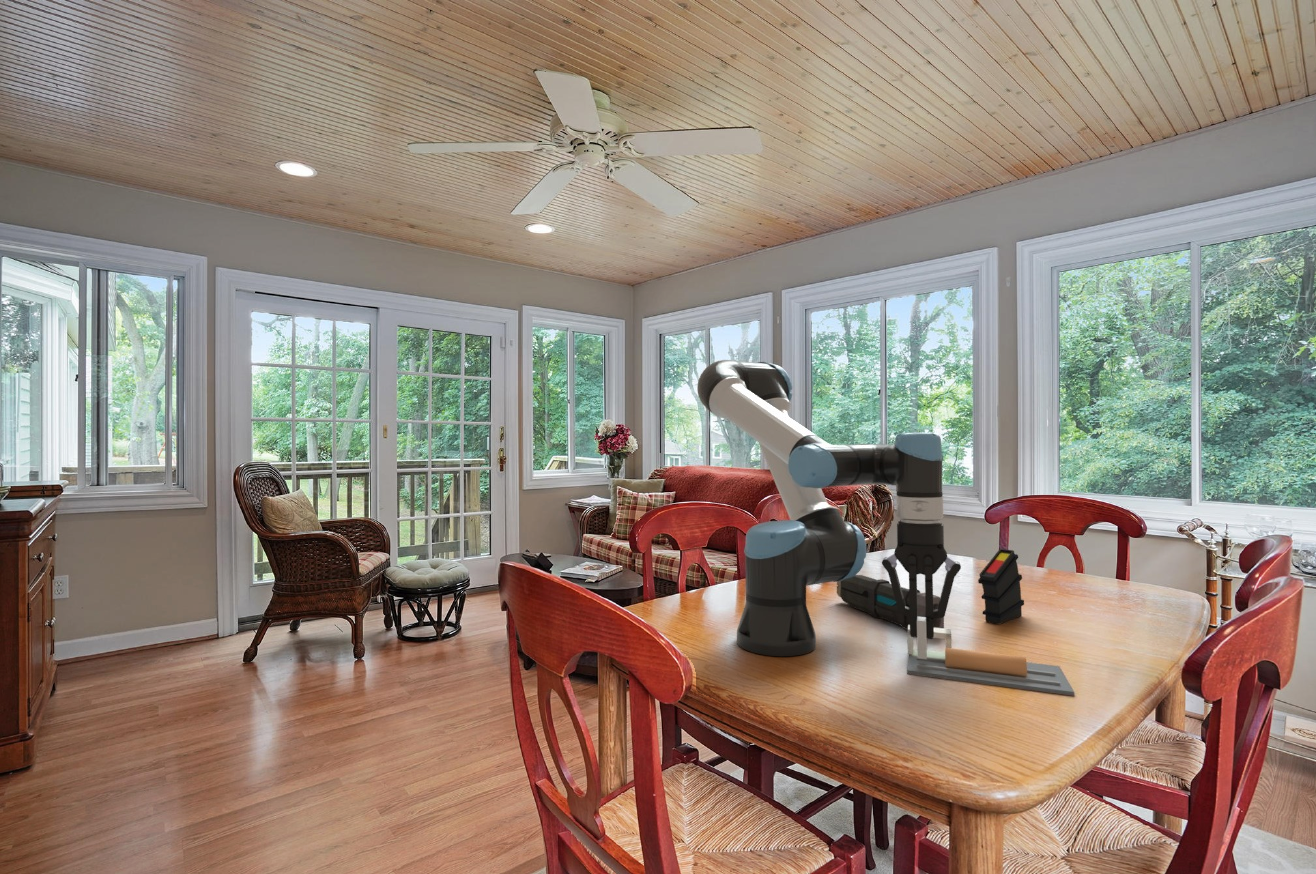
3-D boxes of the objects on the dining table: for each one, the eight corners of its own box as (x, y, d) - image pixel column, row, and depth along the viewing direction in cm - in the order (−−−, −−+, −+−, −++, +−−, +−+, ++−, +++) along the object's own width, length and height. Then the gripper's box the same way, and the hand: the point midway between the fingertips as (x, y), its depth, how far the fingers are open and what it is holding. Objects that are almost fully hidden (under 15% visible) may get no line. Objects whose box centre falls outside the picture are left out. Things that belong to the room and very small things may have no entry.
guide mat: (907, 673, 107) (907, 667, 107) (909, 651, 118) (909, 646, 118) (1074, 695, 97) (1074, 689, 97) (1059, 669, 108) (1059, 663, 108)
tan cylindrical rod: (945, 670, 107) (945, 652, 107) (945, 662, 110) (945, 644, 110) (1026, 681, 102) (1027, 662, 102) (1024, 671, 105) (1024, 653, 105)
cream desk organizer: (908, 649, 117) (908, 624, 117) (951, 654, 114) (950, 629, 114) (907, 654, 114) (907, 629, 114) (951, 659, 111) (951, 634, 111)
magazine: (1030, 606, 142) (1016, 549, 139) (1005, 642, 135) (990, 583, 131) (1012, 603, 145) (999, 547, 142) (988, 637, 138) (972, 580, 134)
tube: (858, 612, 155) (955, 631, 127) (836, 622, 153) (931, 643, 125) (845, 569, 155) (940, 579, 128) (824, 578, 153) (916, 590, 125)
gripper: (878, 521, 109) (881, 658, 109) (962, 524, 104) (964, 668, 104) (882, 517, 116) (884, 645, 116) (960, 519, 111) (962, 654, 110)
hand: (922, 656), depth 110 cm, fingers closed
